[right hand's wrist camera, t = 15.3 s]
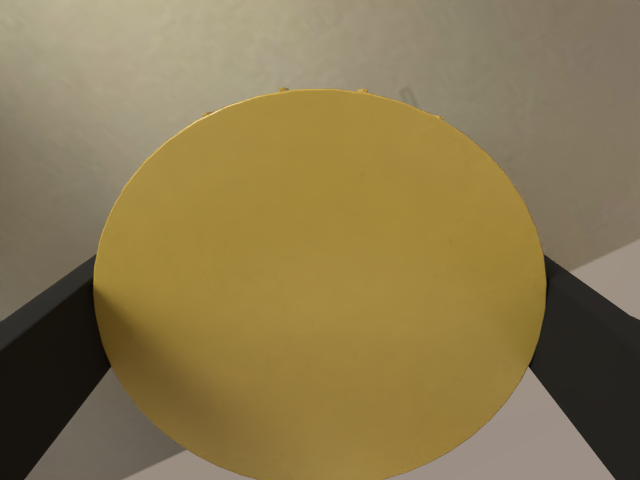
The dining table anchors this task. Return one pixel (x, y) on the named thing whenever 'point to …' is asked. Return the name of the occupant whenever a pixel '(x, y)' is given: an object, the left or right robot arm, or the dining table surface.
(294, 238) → the lid
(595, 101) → the dining table surface
